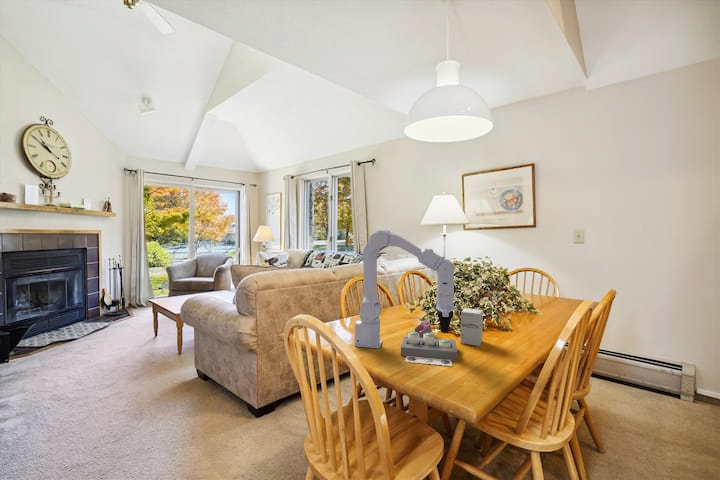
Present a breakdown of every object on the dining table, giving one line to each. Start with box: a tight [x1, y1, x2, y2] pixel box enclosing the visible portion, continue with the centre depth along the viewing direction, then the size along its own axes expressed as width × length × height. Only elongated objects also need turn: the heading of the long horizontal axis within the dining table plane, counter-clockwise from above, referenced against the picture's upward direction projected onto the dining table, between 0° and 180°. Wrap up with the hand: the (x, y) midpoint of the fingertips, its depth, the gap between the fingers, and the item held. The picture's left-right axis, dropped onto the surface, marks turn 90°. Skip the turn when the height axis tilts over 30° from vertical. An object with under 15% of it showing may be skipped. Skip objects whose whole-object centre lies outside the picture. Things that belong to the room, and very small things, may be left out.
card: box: [404, 356, 453, 368], centre depth 110 cm, size 15×5×1 cm, turn 77°
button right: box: [439, 338, 451, 348], centre depth 117 cm, size 4×4×4 cm
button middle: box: [423, 332, 436, 346], centre depth 118 cm, size 4×4×4 cm
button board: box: [400, 336, 458, 362], centre depth 119 cm, size 19×12×3 cm, turn 77°
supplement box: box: [459, 307, 484, 347], centre depth 129 cm, size 7×7×13 cm
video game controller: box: [414, 320, 432, 338], centre depth 138 cm, size 10×5×7 cm, turn 179°
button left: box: [407, 331, 420, 345], centre depth 120 cm, size 4×4×4 cm
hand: (444, 332), depth 117 cm, fingers closed
